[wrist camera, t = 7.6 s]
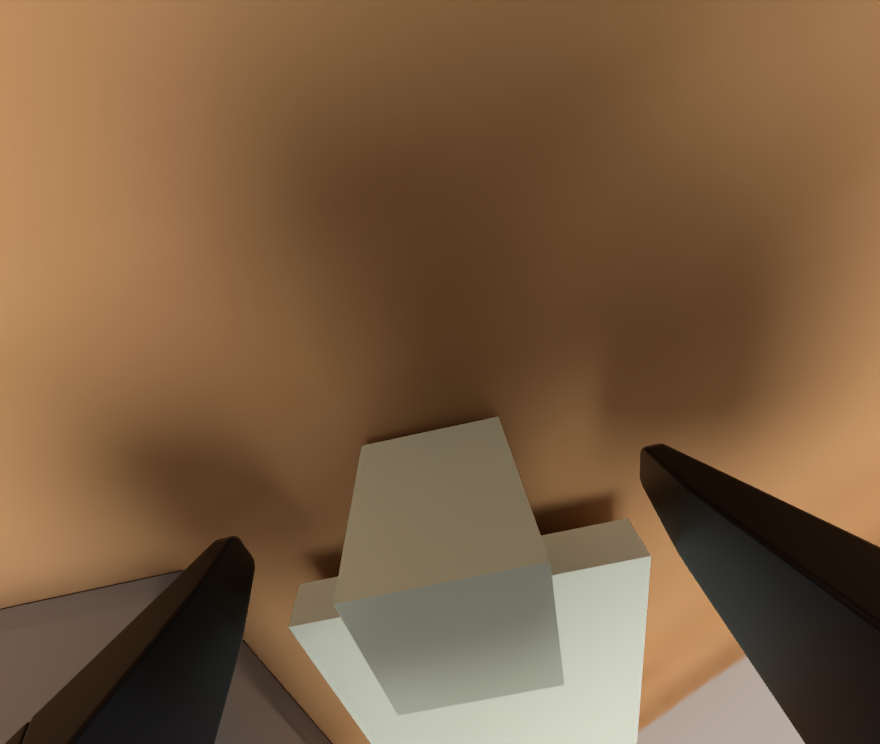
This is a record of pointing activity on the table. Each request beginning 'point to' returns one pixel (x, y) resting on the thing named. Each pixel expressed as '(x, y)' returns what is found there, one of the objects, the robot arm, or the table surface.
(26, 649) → the tub
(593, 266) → the table surface
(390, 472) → the cube on cream block
